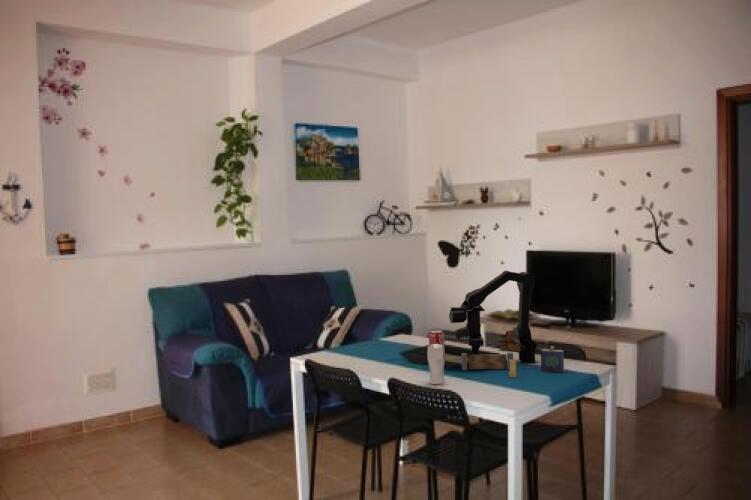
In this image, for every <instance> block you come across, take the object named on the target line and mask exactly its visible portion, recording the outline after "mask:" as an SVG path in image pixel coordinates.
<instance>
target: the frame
mask: <svg viewBox="0 0 751 500" xmlns="http://www.w3.org/2000/svg"><path fill="white" fill-rule="evenodd" d="M460 354H461V356H460V357H461V359H460V360H461V361H460V362H461V370H462V371H468V370H469V369H468V368H469V366H468V353H467V352H465V353H464V352H462V353H460ZM506 354H507V369H506V370H509V372H508V373H509V378H517V363H516V362H517V360H516V358H515V359H514V353H513V352H506Z"/></svg>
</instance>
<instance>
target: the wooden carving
mask: <svg viewBox="0 0 751 500" xmlns="http://www.w3.org/2000/svg"><path fill="white" fill-rule="evenodd" d="M504 335H505V338H504V337H502V338H499V339H498V340H497V343H498V345H499V348H500V349H502V350H504V349H508V350H509V351H513V352H518V350H520V347H521V346H519V345H518V342H516V341H515V340H514V337H513V329H510V330H506V331H505V334H504Z"/></svg>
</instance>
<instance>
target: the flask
mask: <svg viewBox="0 0 751 500" xmlns="http://www.w3.org/2000/svg"><path fill="white" fill-rule="evenodd" d="M564 355H565V354H564V350H562V349H555V346H552V345H551V346H550V348H544V349H541V350H540V371H541V372H543V373H564V371H565V362H564V360H565V357H564Z"/></svg>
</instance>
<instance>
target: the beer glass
mask: <svg viewBox="0 0 751 500" xmlns="http://www.w3.org/2000/svg"><path fill="white" fill-rule="evenodd" d="M444 346H445V344H444V345H441V344H431V345H429V344H428V345H427V354H426V355H427V363H428V369H429V383H430V384H431V385H434V386H435V385H443V384H445V377H444V367H445V363H446V355H445V352H446V351H444Z"/></svg>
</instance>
